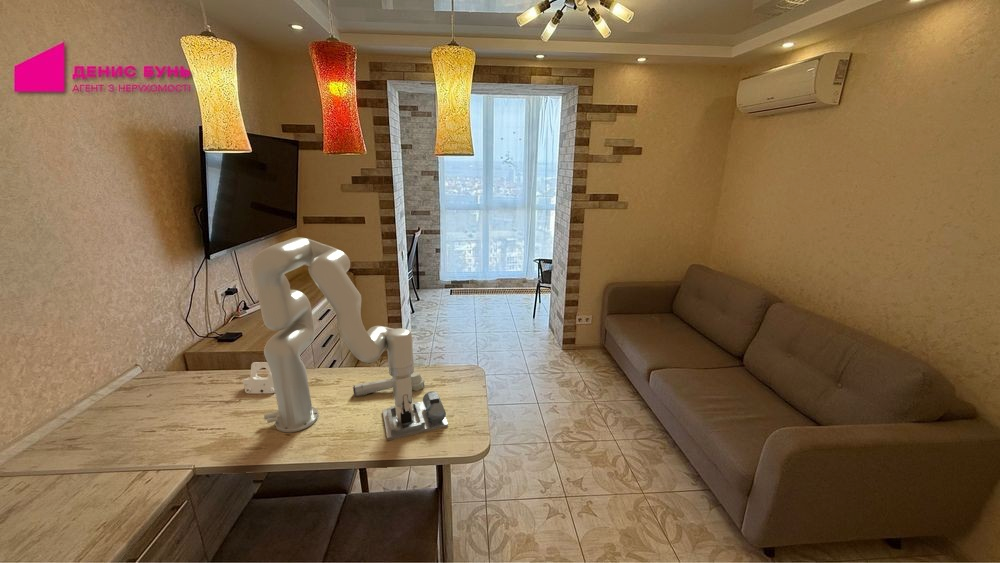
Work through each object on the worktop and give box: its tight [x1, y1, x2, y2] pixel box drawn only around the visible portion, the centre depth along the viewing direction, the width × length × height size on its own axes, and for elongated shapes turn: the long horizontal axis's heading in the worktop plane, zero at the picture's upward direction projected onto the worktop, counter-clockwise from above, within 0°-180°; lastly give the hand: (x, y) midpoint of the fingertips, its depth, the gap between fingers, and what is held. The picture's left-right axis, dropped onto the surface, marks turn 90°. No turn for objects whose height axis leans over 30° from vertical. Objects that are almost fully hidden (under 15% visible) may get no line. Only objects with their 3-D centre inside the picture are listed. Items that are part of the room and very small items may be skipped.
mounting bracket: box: [242, 361, 275, 395], centre depth 145 cm, size 12×6×11 cm, turn 92°
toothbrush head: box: [352, 371, 425, 397], centre depth 145 cm, size 5×7×25 cm
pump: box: [394, 397, 414, 424], centre depth 126 cm, size 6×6×8 cm
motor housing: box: [382, 390, 449, 441], centre depth 128 cm, size 19×15×8 cm
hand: (404, 416), depth 127 cm, fingers closed on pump, 5 cm apart
